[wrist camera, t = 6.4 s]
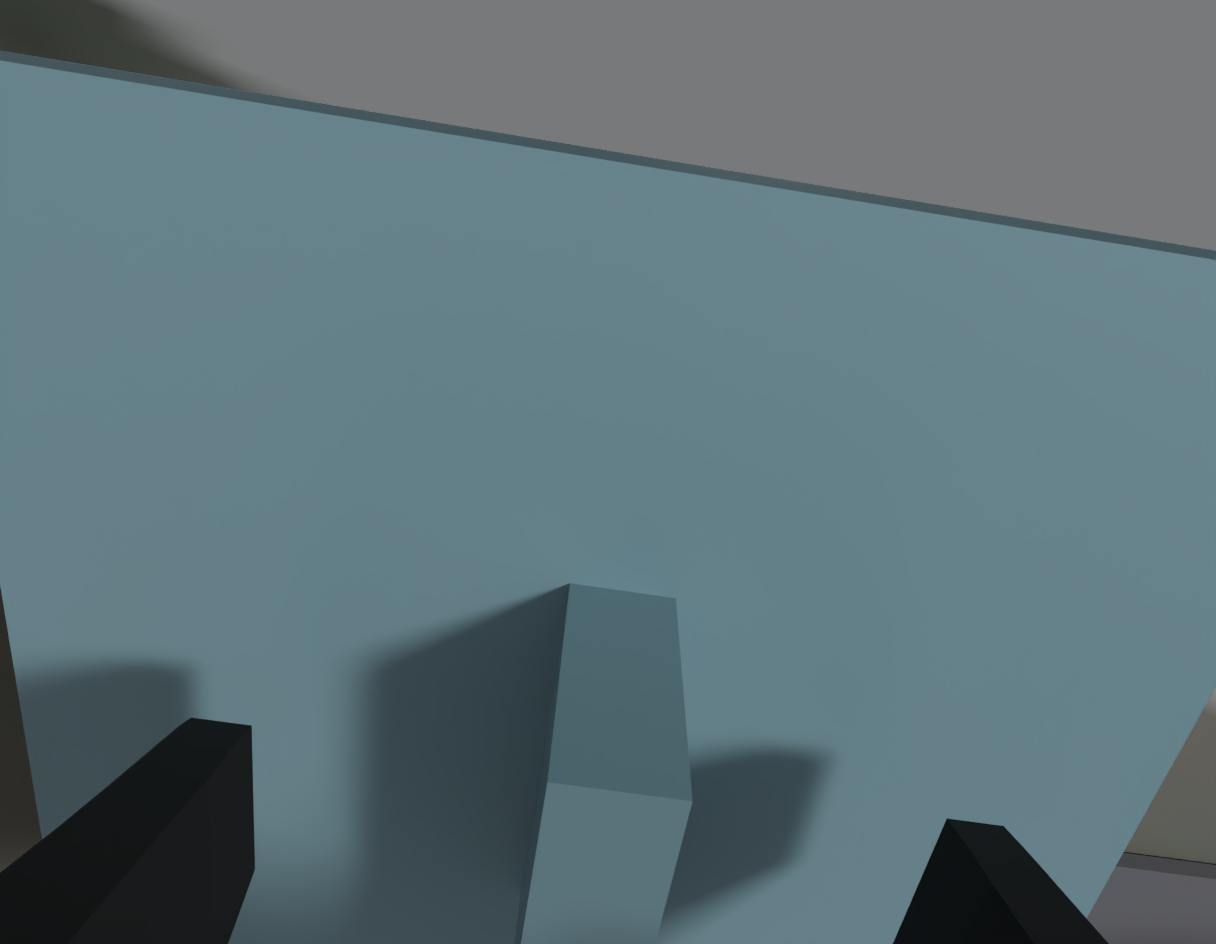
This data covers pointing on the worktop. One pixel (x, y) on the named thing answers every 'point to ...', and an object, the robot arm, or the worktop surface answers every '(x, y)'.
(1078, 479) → the cover sheet
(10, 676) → the worktop surface
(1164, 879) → the mat
